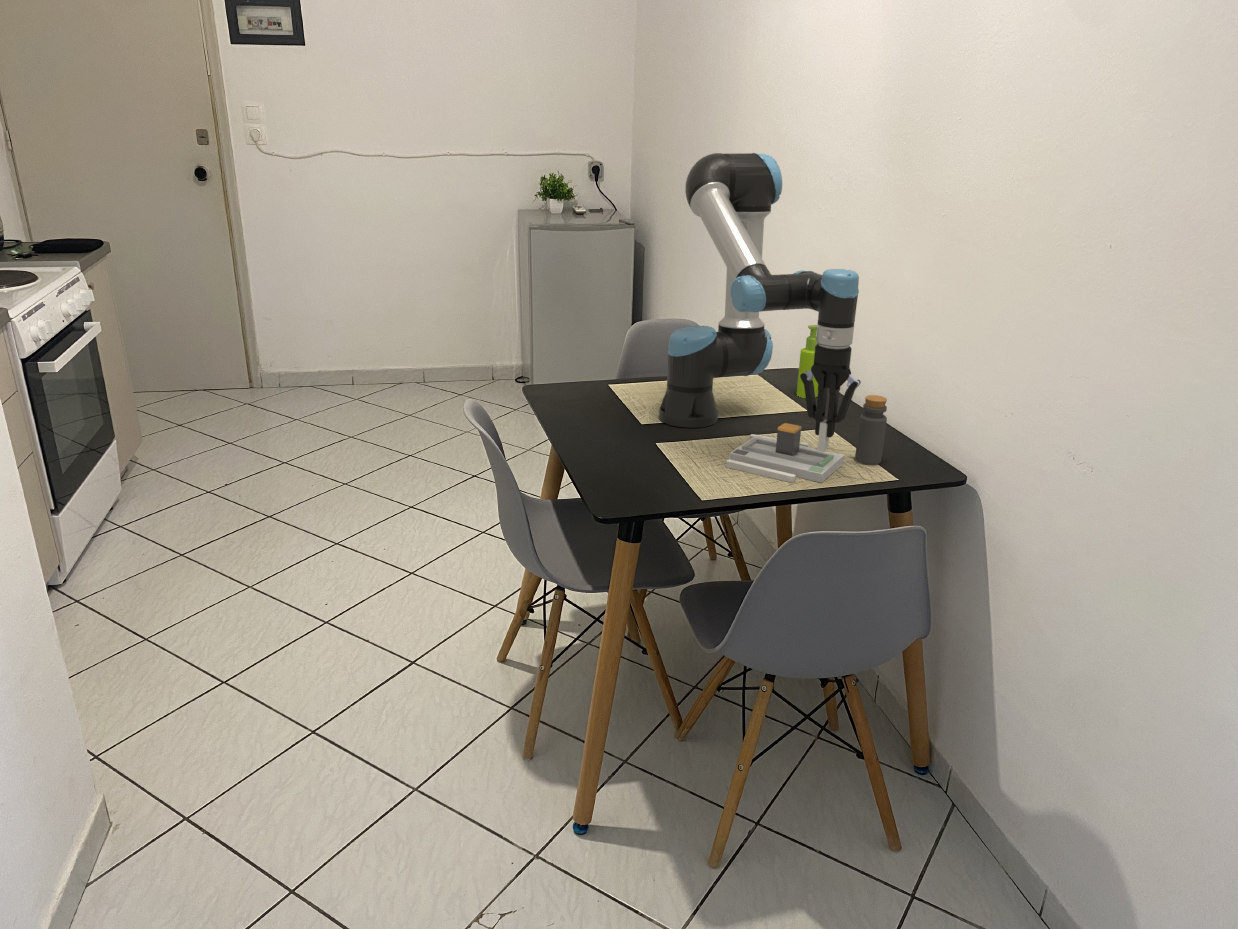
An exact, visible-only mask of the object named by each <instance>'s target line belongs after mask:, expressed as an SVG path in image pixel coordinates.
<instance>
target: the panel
mask: <svg viewBox="0 0 1238 929" xmlns="http://www.w3.org/2000/svg"><path fill="white" fill-rule="evenodd" d="M749 439H750V438H749ZM749 439H748V440H747V441H745V442H744V443H742V444H741V445H739V446H738V447H736V448H735V449H733V450H732V451H730V452H729V455H728V456H729V458H728V460H729V459H730V460H734V461H739V462H743V463H747V464H751V465H756V466H760V467H764V468H768V469H773V470H777V471H781V472H786V473H790V474H794V475H796V478H799V479H805V480H808V481H813V482H816V483H823V482H824V481H825V480H826V479H828V478H829V477H830V476H831V475H832V474H833V473H834V472H836V470H838V469H839V468H840V467H841V466H842V465H844V464H845V454H842V453H841V454H840V453H837V452H832V451H827V450H826V451H825V452H820V451H817V449H818V448H813V447H809V446H808V447H805V446H799V452H797V453H796V454H795V455H793V456H790V455H785V454H781V453H776V442H777V440H773V439H768V438H763V437H759V436H754V437H753V438H751V439H750V440H749Z"/></svg>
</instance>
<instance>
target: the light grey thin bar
mask: <svg viewBox="0 0 1238 929" xmlns="http://www.w3.org/2000/svg"><path fill="white" fill-rule="evenodd" d="M754 436H759V437H763V438H768V439H773V440H777V437H772V436H768V435H761V434H754V433H751V434H749V439H748V440H750V439H751V438H753V437H754ZM800 446H805V447H809V442H805V441H804V442H803V441H800Z"/></svg>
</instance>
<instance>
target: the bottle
mask: <svg viewBox="0 0 1238 929" xmlns="http://www.w3.org/2000/svg"><path fill="white" fill-rule="evenodd" d="M864 399H865V400H864V401H865V403H863V405H862V410H863V411H864V412H863V413H861V415H860V416H859V423H858V430H857V439H856V447H855V455H854V460H855V462H858V463H859V464H863V465H869V466H874V465H875V466H876V465H879V464H881V462H882V458H883V450H884V443H885V435H886V427H887V423H888V422H887V419H888V418H887V416H886V415H885V414H884V413H886V412H887V410H888V409H887V408H888V407H887V405H886V403H887V401H888V399H887V397H885V396H883V395H876V394H875V395H874V394H872V395H871V394H870V395H866V396H865V397H864Z"/></svg>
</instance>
